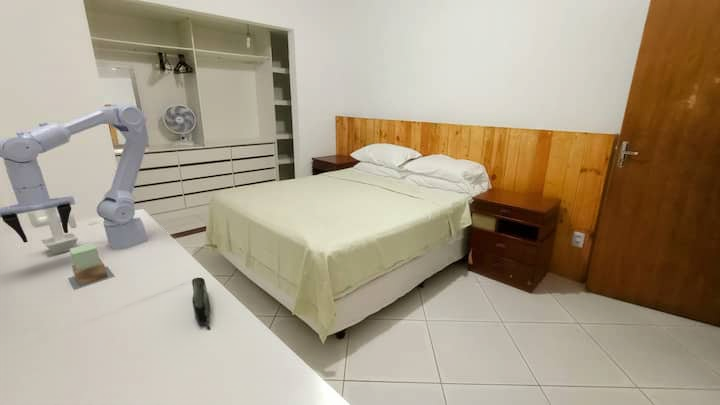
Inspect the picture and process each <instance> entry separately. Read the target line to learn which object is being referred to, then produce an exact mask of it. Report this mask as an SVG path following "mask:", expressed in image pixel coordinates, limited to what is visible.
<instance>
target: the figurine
mask: <svg viewBox="0 0 720 405" xmlns="http://www.w3.org/2000/svg"><path fill="white" fill-rule="evenodd" d="M42 211H43V212H44V214H45V215H44V216H40V217H38V215H37V212H36V211H32V212H26V213H27V216H28V218H29V221H30V224H31V226H33V228H42V227H46V226H49V229H50V232H51V235H52V237H49V238H44V239H42V240H41V242H42V244H44V246H45V247H46V248H47V249H48V250H50V251H51V252H52V254H54V255H58V254H62V253H65V252H70V250H69V249H71V248H75V247H76V244H77V241H78V239H79V238H78V237H77V236H76V235H75V234H74V233H73V232H68V233H64V231H63V228H62V223H61V219H60V216H59V213H58V211H57V207H54V208H48V209H43V210H42ZM74 216H75V215H74V214H73V212H72V211H71V212H70V215H69V219H68V227H69V228H70V229H75V228H77V226H78V225H77V223H76V219H75V217H74Z"/></svg>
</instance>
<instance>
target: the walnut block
mask: <svg viewBox="0 0 720 405" xmlns="http://www.w3.org/2000/svg"><path fill="white" fill-rule="evenodd" d="M99 259H100V263H101V264H100V265H97V266H94V267H90V268H87V269H84V270H80V271H77V269H76V267H75V265H74V264H73V265H71V268H72V271H73V276H75V278H76V280H77V282H78V284H79V286H81V285H84V284H87V283H90V282H93V281H96V280H99V279H102V278H105V277H108V276H107V272H106V269H105V267H106V265H105V263H104V262H103V261H102V259H101V258H100V257H99Z"/></svg>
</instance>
